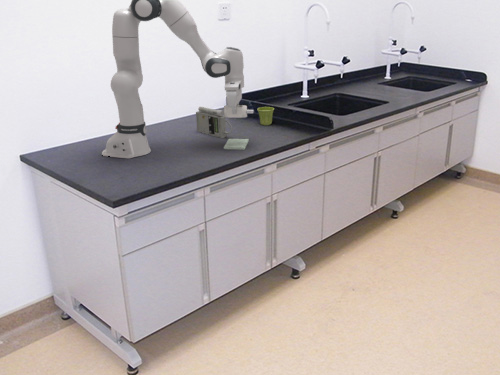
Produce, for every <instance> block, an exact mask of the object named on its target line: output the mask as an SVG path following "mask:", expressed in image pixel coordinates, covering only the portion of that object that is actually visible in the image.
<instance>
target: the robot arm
mask: <svg viewBox="0 0 500 375" xmlns="http://www.w3.org/2000/svg"><path fill="white" fill-rule="evenodd" d="M157 18H159V19H160V20H162V21H163V23H164V24H165V25H166V26H167V27H168V29H169V30H170V31H171V32H172V33H173V35H174V36H176V37H177V38H178V39H180V40H181V41H184V42H185V43H186V44H188V45H189V46H190V48H191V49H192V50H193V51H194V53H195V54H196V56H197V57H198V58H199V59H200V62H201V66H202V70H203V71H204V72H205V73H206V74H207V76H209V77H210V78H212V79H213V78H214V79H217V78H221V77H224V91H225V93H226V94H225V95H226V97H225V98H226V103H227V104H226V105H228V107H231V108H232V114H236V113H237V110H236V106H237V105H240V101H241V100H242V98H243V91H242V90H243V88H244V87H245V76H244V68H245V67H244V66H245V65H244V57H243V56H244V55H243V52H242V51H241V49H239V48H236V47H231V46H230V47H229V46H226V47H225V48H224V49H223V50H222V51H220V52H218V53H216V52H214V51H213V50H211V49H210V48H209V46H208V45H207V44H206V41H204V40H203V39H202V37H201V35H200V33H199V31H198V26H197V24H196V22H195V20H194V18H193V16H192V15H191V13H190V11H189V10H187V8H186V6H185V5H184V4H183V3H182V2H181V1H180V0H131V2H130V5H129V6H128V8H120V9H117V10H116V11H115V12H114V13H113V16H112V25H111V26H112V27H111V28H112V30H111V32H112V38H111V39H112V54H113V56H114V60H115V64H116V69H117V72H115V73H114V74H113V75H112V78H111V80H110V89H111V91H112V92H113V95H114V99H115V102H116V105H117V111H118V112H117V113H118V118H119V122H118V124H117V125H115V130H117V131H116V132H115V133H114V134H113V135H111V136H110V137H109V138H108V139H107V141H106V144H105V149H103V150H102V152H101V155H103V157H108V156H110V157H111V158H120V159H132V158H136V157H141V156H145V155H147V154H150V153H151V152H152V150H151V148H150V144H149V142H148V137H147V125H146V122H145V116H144V108H143V107H144V106H143V103H142V100H141V98H140V94H139V88H140V87H141V86H142V84H143V82H144V80H143V79H144V77H143V70H142V63H141V57H140V43H139V42H140V40H139V35H140V34H139V27H140V26H139V25H140V23H141V22H150V21H152V20H154V19H157ZM110 157H109V158H110Z"/></svg>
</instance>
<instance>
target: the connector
mask: <svg viewBox="0 0 500 375" xmlns="http://www.w3.org/2000/svg"><path fill="white" fill-rule="evenodd" d="M236 110H237V113H236V114H232V108H231V107H228V105H227V104H226V105H223V111H224V117H226V118H239V119H242V118H247V117H248V114H254V112H255V110H254V109H248V106H247V105H245V104H244V105H243V104H242V105H240V104H239V105H237V106H236Z"/></svg>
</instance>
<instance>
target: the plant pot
mask: <svg viewBox="0 0 500 375" xmlns="http://www.w3.org/2000/svg"><path fill="white" fill-rule="evenodd" d="M274 110H275V108H274V107H270V106H262V107H258V108H257V110H256V111H257V113H258V116H259V123H260V125H262V126H263V125H264V126H270V125H272V122H273V113H274Z"/></svg>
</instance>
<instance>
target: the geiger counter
mask: <svg viewBox="0 0 500 375" xmlns="http://www.w3.org/2000/svg"><path fill="white" fill-rule="evenodd" d="M195 118H196V119H195V120H196V132H197V131H198V132H197V133H201V132H202V133H201V134H204V133H205V135H208V134H209V136H213V137H216V138H221V139H224V138H227V135H230V134H232V133H233V130H231V131H230V132H228V131H227V123H228V124H229V126H230V127H231V129H233V125H232V124H231V122H229V121H228V120H227V119H226V118H227V117H224V110H222V109H213V108H208V107H205V106H204V107H203V106H199V107H198V111H195Z"/></svg>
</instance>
